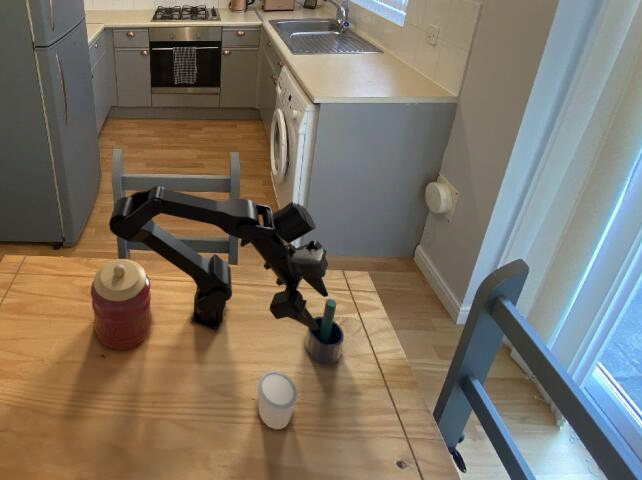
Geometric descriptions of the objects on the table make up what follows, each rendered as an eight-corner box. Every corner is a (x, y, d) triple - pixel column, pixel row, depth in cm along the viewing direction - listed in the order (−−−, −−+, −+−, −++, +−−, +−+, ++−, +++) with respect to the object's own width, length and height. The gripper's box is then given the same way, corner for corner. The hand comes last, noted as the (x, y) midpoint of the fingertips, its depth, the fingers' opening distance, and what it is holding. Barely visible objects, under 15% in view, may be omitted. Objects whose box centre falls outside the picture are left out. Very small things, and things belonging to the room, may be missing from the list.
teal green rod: (317, 349, 89) (325, 304, 84) (318, 341, 91) (326, 297, 86) (327, 352, 88) (336, 308, 83) (327, 344, 90) (336, 300, 85)
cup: (303, 356, 88) (306, 338, 86) (307, 329, 94) (310, 312, 92) (338, 369, 86) (342, 351, 84) (340, 341, 91) (344, 323, 89)
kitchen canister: (142, 295, 104) (140, 239, 97) (159, 341, 92) (157, 281, 85) (90, 310, 100) (83, 252, 93) (100, 359, 89) (94, 298, 82)
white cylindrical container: (294, 437, 75) (299, 412, 72) (255, 428, 76) (258, 404, 73) (291, 397, 81) (295, 373, 78) (255, 390, 82) (257, 366, 80)
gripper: (292, 270, 75) (348, 342, 74) (316, 212, 90) (362, 271, 89) (247, 285, 82) (298, 351, 81) (276, 229, 97) (319, 284, 96)
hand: (321, 312), depth 87 cm, fingers open, 9 cm apart
